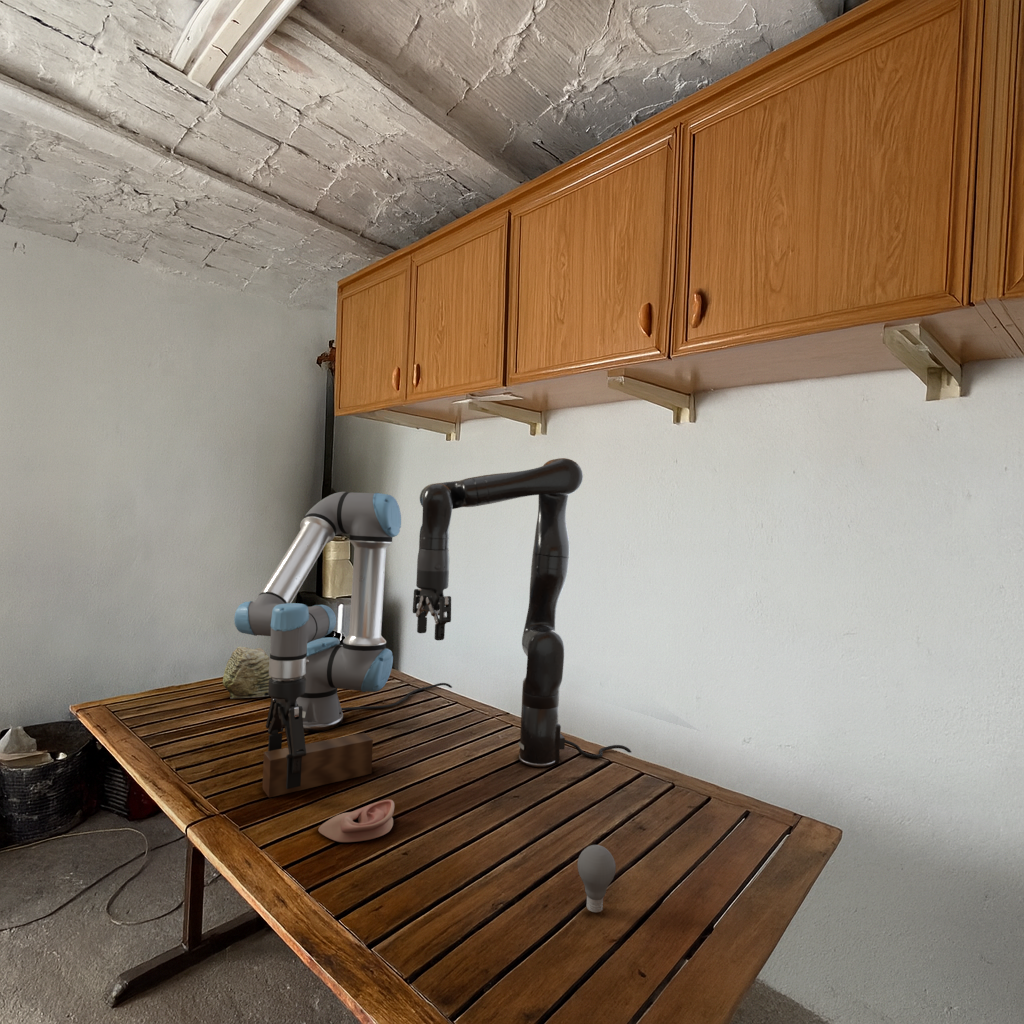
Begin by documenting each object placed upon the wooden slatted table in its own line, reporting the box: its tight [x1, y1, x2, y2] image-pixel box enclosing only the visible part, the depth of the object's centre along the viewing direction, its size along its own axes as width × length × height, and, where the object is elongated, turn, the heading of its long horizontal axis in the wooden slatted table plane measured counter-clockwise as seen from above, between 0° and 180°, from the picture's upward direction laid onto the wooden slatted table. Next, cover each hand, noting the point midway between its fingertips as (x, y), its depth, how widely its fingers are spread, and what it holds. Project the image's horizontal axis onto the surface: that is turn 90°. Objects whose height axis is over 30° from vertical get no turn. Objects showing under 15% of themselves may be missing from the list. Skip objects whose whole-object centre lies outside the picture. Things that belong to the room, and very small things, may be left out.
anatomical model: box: [317, 799, 395, 843], centre depth 122 cm, size 13×4×12 cm
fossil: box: [222, 646, 271, 699], centre depth 198 cm, size 9×18×15 cm, turn 132°
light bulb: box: [577, 844, 617, 913], centre depth 100 cm, size 6×6×10 cm
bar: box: [262, 732, 374, 798], centre depth 141 cm, size 23×5×8 cm, turn 126°
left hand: (283, 775), depth 136 cm, fingers open, 13 cm apart
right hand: (430, 636), depth 150 cm, fingers open, 8 cm apart
